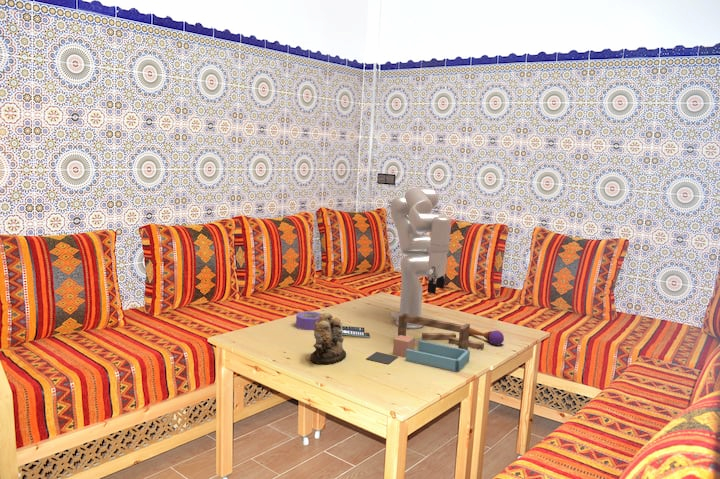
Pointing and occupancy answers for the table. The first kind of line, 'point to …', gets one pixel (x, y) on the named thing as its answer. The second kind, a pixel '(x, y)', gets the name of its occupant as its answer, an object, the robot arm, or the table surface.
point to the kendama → (490, 336)
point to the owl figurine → (328, 340)
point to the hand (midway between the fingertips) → (435, 290)
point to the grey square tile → (382, 358)
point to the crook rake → (438, 324)
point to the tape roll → (307, 320)
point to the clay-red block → (402, 345)
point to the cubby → (443, 359)
